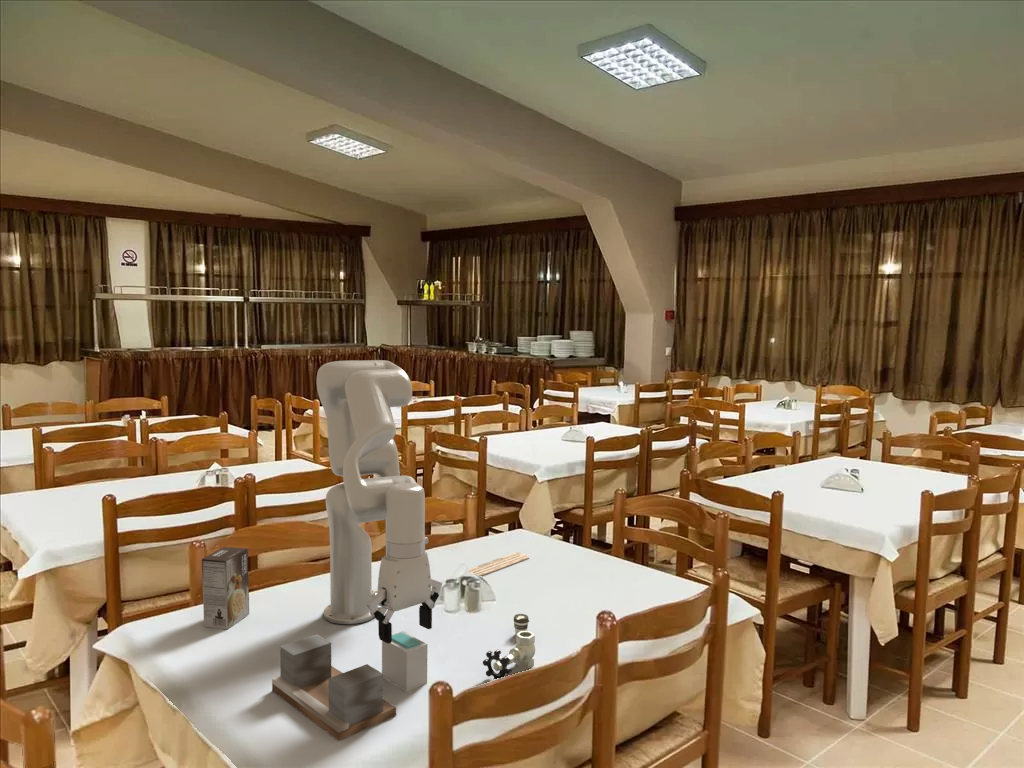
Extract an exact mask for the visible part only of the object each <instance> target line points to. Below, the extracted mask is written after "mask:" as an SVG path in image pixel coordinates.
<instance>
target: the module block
mask: <svg viewBox="0 0 1024 768" xmlns="http://www.w3.org/2000/svg"><path fill="white" fill-rule="evenodd" d="M381 673H383V679H384V680H386V681H388V682H390V683H391V684H393V685H394V686H397V688H398V689H401V690H403V691H405V692H406V693H407V692H409V691H412V690H414V689H417V688H419V687H421V686H424V685H426V684H428V644H427V643H426V642H424V641H422V640H421V639H419V638H417V637H415V636H412V635H410V634H409V633H407V632H405V631H403V630H402V631H399V632H396V633H394V634H392V642H391V643H389V644H387V643H386V642H384V641H382V640H381Z"/></svg>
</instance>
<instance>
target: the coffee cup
mask: <svg viewBox="0 0 1024 768" xmlns="http://www.w3.org/2000/svg"><path fill="white" fill-rule="evenodd" d="M529 623H530V619H529V616H528V615H527V614H524V613H516V614H515V615H514V616H513V627H514V632H515V635H516V634H517V633H519V632H521V631H528V625H529Z"/></svg>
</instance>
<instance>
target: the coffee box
mask: <svg viewBox="0 0 1024 768" xmlns="http://www.w3.org/2000/svg"><path fill="white" fill-rule="evenodd" d="M248 550H249V548H246V547H245V548H243V547H232V546H231V547H230V546H222V547H220V548H219V549H217V550H216V551H214V552H212V553H210V554H208V555H207V556H204V557H203V558H201V572H202V574H201V577H202V600H203V601H202V603H203V605H202V606H203V627H205V628H212V629H222V630H224V629H225V630H229V629H231V628H232V627H234V626H235V625H236V624H238V623H239V622H241V620H243V619H244V618H246V617H247V616H249V615H250V590H249V589H250V588H249V587H250V586H249V584H250V583H249V551H248Z"/></svg>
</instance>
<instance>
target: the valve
mask: <svg viewBox="0 0 1024 768" xmlns="http://www.w3.org/2000/svg"><path fill="white" fill-rule="evenodd" d="M535 638H536V637H535V634H534V633H533V632H531V631H529V630H527V631H521V632H519V633H517V634H515V641H516V644H515V646H514V647H512V648H511V649H510V650H509V651H508V652H509V653H508V654H507V655H505V656H503V657H502V656H501V654H502V651H501V649H496V650H494V652H493V651H492V650H488V651H487V652H486V653H485V655H486V658H485V659H484V660H482V665H483V666H484V667H487V670H486V672H485V675H486V676H487V677H491V676H492V677H493V680H494V679H497V678H499V679H501V677H504V676H506V675H509V674H511V673H512V672H513V668H512V667H510V666H509V665H511V664H513V663H514V664H515V665H516V666H517V667H518V668H519V669H531V667H533V666H534V665H535V657H534V656H535V653H536V645H535ZM493 660H494V661H495V662H493V664H492V661H493ZM492 665H493V666H492ZM508 666H509V667H508ZM498 671H499V672H498ZM497 672H498V673H497Z"/></svg>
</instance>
